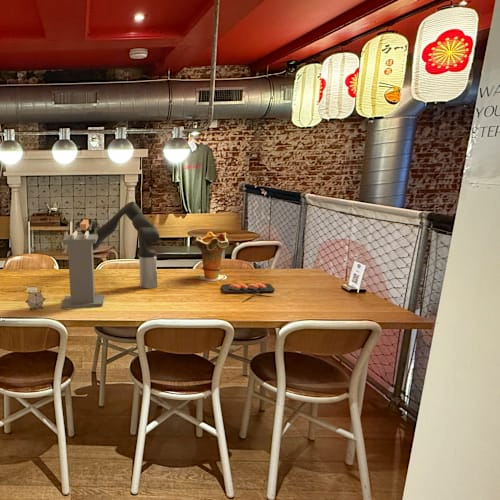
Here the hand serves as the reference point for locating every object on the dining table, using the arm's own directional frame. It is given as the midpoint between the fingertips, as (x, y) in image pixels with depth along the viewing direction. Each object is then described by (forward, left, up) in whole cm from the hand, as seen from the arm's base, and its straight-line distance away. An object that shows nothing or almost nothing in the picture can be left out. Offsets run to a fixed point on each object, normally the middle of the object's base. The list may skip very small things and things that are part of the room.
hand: (85, 220), depth 223 cm
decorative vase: (-71, -5, -37) cm, 80 cm away
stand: (0, +30, -37) cm, 47 cm away
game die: (+20, +36, -37) cm, 55 cm away
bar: (0, +6, -3) cm, 7 cm away
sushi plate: (-84, +33, -37) cm, 98 cm away
